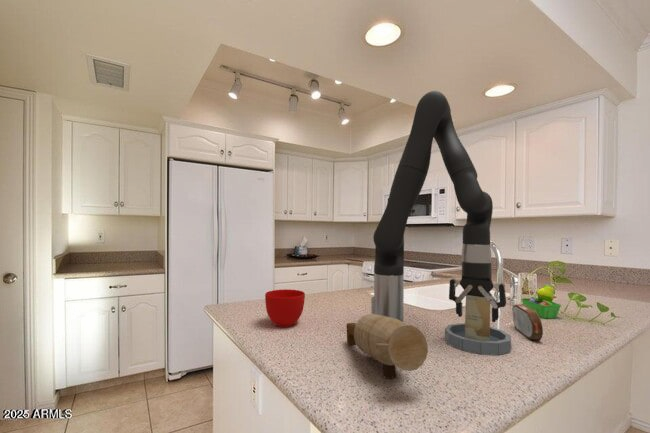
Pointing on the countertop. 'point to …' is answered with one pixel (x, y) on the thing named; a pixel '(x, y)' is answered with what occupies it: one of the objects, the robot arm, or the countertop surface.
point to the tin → (527, 321)
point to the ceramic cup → (284, 306)
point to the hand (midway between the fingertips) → (476, 318)
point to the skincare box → (477, 318)
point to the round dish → (495, 346)
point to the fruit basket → (543, 303)
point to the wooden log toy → (389, 342)
